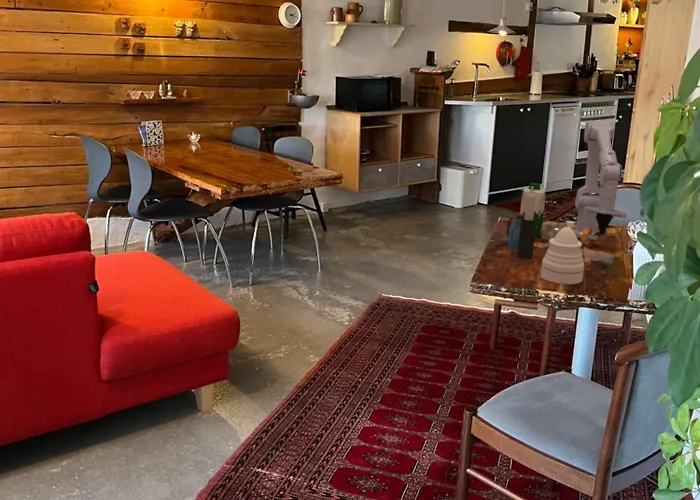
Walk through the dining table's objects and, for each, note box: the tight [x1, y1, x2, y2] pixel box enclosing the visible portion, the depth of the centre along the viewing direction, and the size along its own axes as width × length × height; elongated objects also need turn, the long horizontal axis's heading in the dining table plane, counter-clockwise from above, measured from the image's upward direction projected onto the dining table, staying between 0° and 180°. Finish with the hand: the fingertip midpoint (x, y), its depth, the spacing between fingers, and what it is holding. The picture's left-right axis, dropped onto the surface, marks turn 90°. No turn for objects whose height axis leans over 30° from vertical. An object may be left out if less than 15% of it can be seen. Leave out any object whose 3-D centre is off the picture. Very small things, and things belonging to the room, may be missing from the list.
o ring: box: [580, 227, 592, 246], centre depth 251 cm, size 2×6×6 cm, turn 144°
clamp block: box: [541, 220, 559, 241], centre depth 259 cm, size 4×5×6 cm
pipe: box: [554, 227, 599, 242], centre depth 254 cm, size 20×2×2 cm, turn 54°
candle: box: [516, 186, 536, 260], centre depth 232 cm, size 5×5×25 cm
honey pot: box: [540, 220, 585, 285], centre depth 213 cm, size 13×13×18 cm
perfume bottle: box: [507, 213, 525, 250], centre depth 246 cm, size 6×6×12 cm
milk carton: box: [519, 182, 546, 239], centre depth 261 cm, size 9×9×20 cm
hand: (602, 234), depth 247 cm, fingers closed
